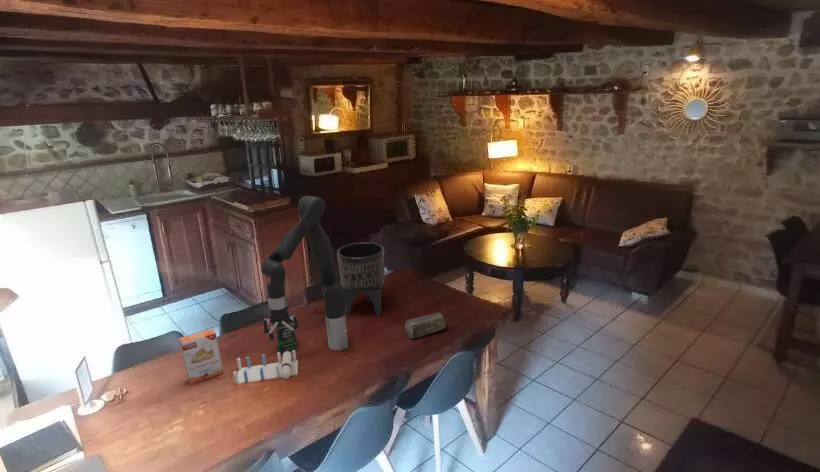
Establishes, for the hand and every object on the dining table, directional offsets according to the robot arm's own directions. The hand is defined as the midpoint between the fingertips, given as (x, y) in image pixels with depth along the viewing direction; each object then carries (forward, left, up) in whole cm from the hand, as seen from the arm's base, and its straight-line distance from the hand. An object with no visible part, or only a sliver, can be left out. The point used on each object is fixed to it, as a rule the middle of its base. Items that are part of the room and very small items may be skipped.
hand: (282, 338), depth 210 cm
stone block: (-68, -16, -16) cm, 72 cm away
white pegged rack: (+8, 0, -16) cm, 18 cm away
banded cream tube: (0, 0, -15) cm, 15 cm away
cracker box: (+35, -4, -16) cm, 39 cm away
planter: (-41, -50, -16) cm, 66 cm away
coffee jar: (0, -18, -16) cm, 24 cm away
